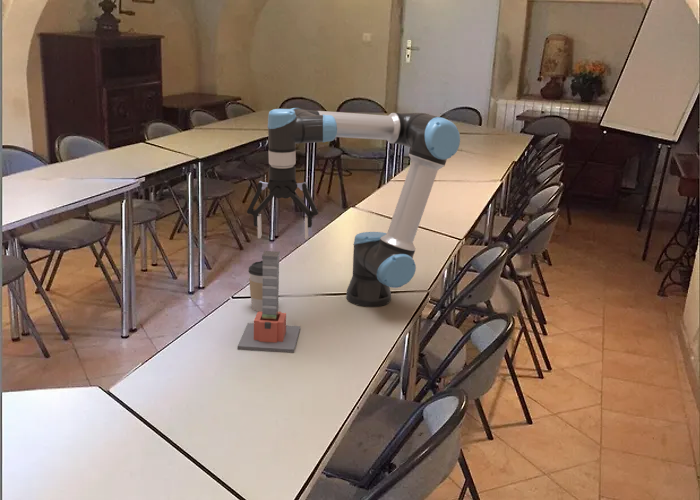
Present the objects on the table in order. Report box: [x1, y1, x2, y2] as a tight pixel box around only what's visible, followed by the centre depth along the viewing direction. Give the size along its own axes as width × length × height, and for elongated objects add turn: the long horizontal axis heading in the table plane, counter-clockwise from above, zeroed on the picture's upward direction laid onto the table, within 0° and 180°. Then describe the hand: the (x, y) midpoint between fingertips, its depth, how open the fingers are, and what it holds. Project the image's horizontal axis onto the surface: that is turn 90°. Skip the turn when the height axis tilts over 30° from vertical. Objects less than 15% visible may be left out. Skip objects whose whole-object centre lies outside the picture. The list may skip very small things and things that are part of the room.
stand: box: [237, 311, 301, 354], centre depth 208 cm, size 16×16×7 cm
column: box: [261, 250, 281, 319], centre depth 204 cm, size 4×4×19 cm
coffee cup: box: [248, 260, 263, 312], centre depth 229 cm, size 9×9×15 cm
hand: (283, 237), depth 207 cm, fingers open, 13 cm apart
